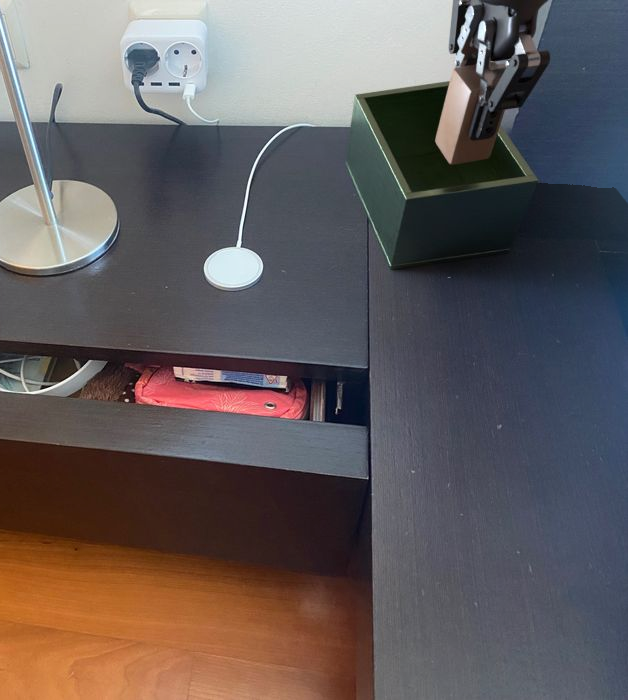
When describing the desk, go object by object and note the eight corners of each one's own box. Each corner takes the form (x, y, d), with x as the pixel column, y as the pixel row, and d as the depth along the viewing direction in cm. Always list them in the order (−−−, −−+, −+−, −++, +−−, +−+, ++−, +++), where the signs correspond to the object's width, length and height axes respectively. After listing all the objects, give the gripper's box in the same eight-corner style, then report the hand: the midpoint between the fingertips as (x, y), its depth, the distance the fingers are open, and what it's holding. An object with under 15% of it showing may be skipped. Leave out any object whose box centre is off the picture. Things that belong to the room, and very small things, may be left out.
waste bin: (508, 252, 75) (538, 180, 68) (389, 270, 75) (406, 199, 68) (449, 150, 86) (468, 77, 79) (345, 165, 86) (354, 94, 79)
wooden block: (449, 167, 68) (470, 90, 61) (432, 141, 70) (451, 66, 64) (490, 160, 68) (516, 83, 62) (472, 135, 70) (495, 58, 64)
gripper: (626, -43, 49) (543, 164, 62) (535, -122, 57) (480, 74, 71) (517, -27, 49) (457, 176, 62) (442, -108, 57) (405, 85, 71)
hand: (470, 121), depth 66 cm, fingers closed on wooden block, 4 cm apart
